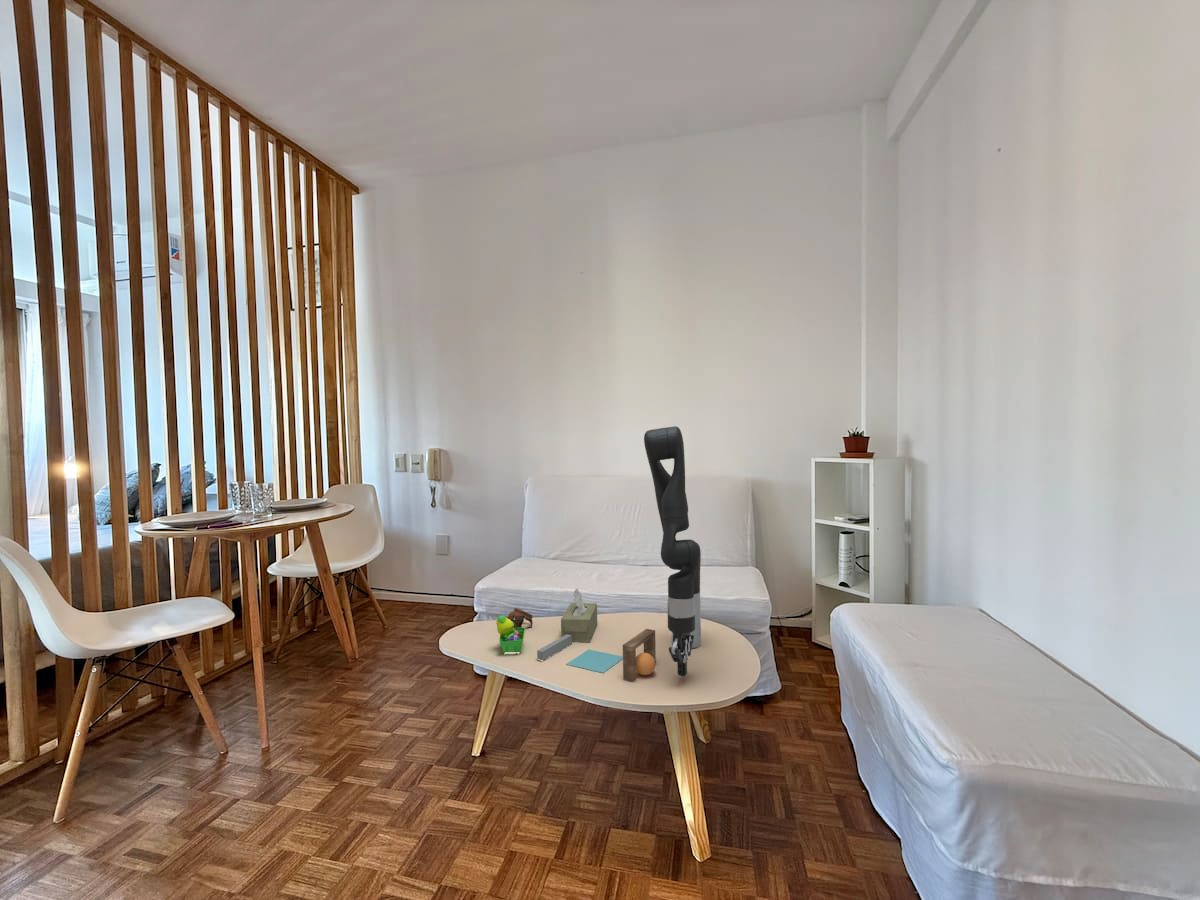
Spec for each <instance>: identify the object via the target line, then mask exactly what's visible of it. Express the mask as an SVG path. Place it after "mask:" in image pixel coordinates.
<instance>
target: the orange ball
mask: <svg viewBox="0 0 1200 900" xmlns="http://www.w3.org/2000/svg"><path fill="white" fill-rule="evenodd" d="M655 667H656V663H655V660H654V658H653V657H652V656H651V655H650V654H648V653H644V652H640V653H639V654H636V673H638V674H639V675H641V676H648V675H650V674H652V673H653V671H654V670H655Z"/></svg>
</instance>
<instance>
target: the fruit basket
mask: <svg viewBox="0 0 1200 900" xmlns="http://www.w3.org/2000/svg"><path fill="white" fill-rule="evenodd" d="M495 623H496V628H497V633H498V635H499V639H498V642H499V644H500V647H501V650H502V653H503V652H504V653H505V652H520V653H521V650H522V646H523V642H524V639H525V630H526V628H525V627H521V628H513V627H514V623H513V622H512V621H511V620H510V619H508V618H507V616H505V615H503V614H502V615H499V616H497V619H496V622H495Z"/></svg>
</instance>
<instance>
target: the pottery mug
mask: <svg viewBox="0 0 1200 900" xmlns="http://www.w3.org/2000/svg"><path fill="white" fill-rule="evenodd" d="M506 618H508V619H510V620H511V621H512V622H513V623H514V627H513V628H522V626H523V624H524V622H525V620H526V621H528V622H529V623H530V626H529V627H530V628H532V627H533V615H532V614H531V613H529V612H527V611H524V610H522V609H520V608H517V607H514V609H513V610H512V611H510V612H509V613H508V615H507V616H506Z"/></svg>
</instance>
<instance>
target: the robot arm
mask: <svg viewBox="0 0 1200 900" xmlns="http://www.w3.org/2000/svg"><path fill="white" fill-rule="evenodd" d="M682 433H683V432H682V430H681V429H680V428H679V426H676V425H675V426H668V427H661V428H654V429H650V430H646V431H645V433H644V435H643V436H644V437H643V443H644V448H645V452H646V453H645V454H646V457H647V461H648V465H649V468H650V472H651V476H652V481H653V486H654V494H655V499H656V504H657V509H658V514H659V518H660V523H661V528H662V529H661V530H662V533H663V534H662V542H661V547H660V558H661V560H662V562H663V564H664V565H665V566H666V567H668V568H669V569H672V570H675V571H678V572H675V573H672V574H671V575H668V576H669V577H668V578H667V593H668V594H667V609H666V610H667V628H668V629H667V630H669V631H670V632H671V635H672V636H671V637H672V646H669V648H668V652H669V654H670V655H669V656H670V657H671V658H672V662H674V663H677V664H676V665H677V675H678V676H680V677H686V675H687V674H688V661H689V657H690V656H691V653H692V649H696V648H699V647H700V646H701V645H702V633H701V632H702V627H701V626H702V625H701V623H702V622H701V620H702V619H701V562H702V561H701V559H702V557H701V555H702V554H701V552H702V551H701V547H700V545H699V543H697V542H696V541H695V540H693V539H689V538H687V539H677V537H676V535H678V533H681V532H684V531H687V530H688V529H689V527H690V521H689V520H690V519H689V504H688V499H687V493H686V464H685V463H686V460H685V447H684V446H685V443H684V438H683V435H682ZM671 459H673V470H672V473H671V474H670V473H669V472H668V471H667V470H666V469H665V467H664V465H663V464H662V461H665V460H671Z"/></svg>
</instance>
